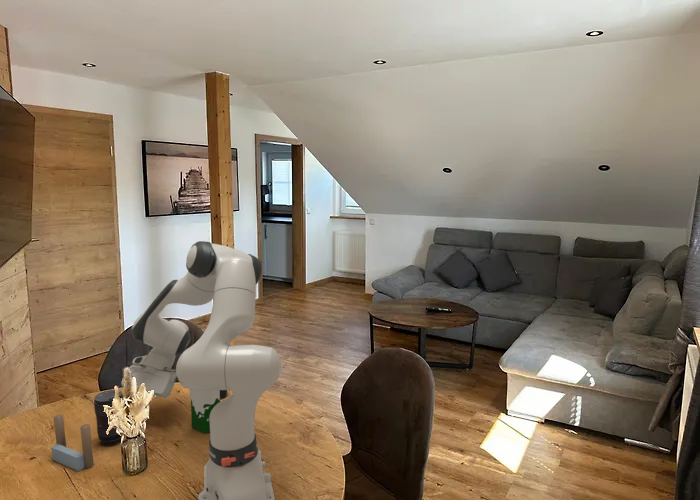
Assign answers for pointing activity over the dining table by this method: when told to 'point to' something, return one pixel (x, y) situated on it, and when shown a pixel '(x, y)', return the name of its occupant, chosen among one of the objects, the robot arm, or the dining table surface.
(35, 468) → the dining table surface
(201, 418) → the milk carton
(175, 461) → the dining table surface
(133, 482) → the dining table surface
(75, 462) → the peg rail
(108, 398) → the camera lens
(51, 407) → the dining table surface
